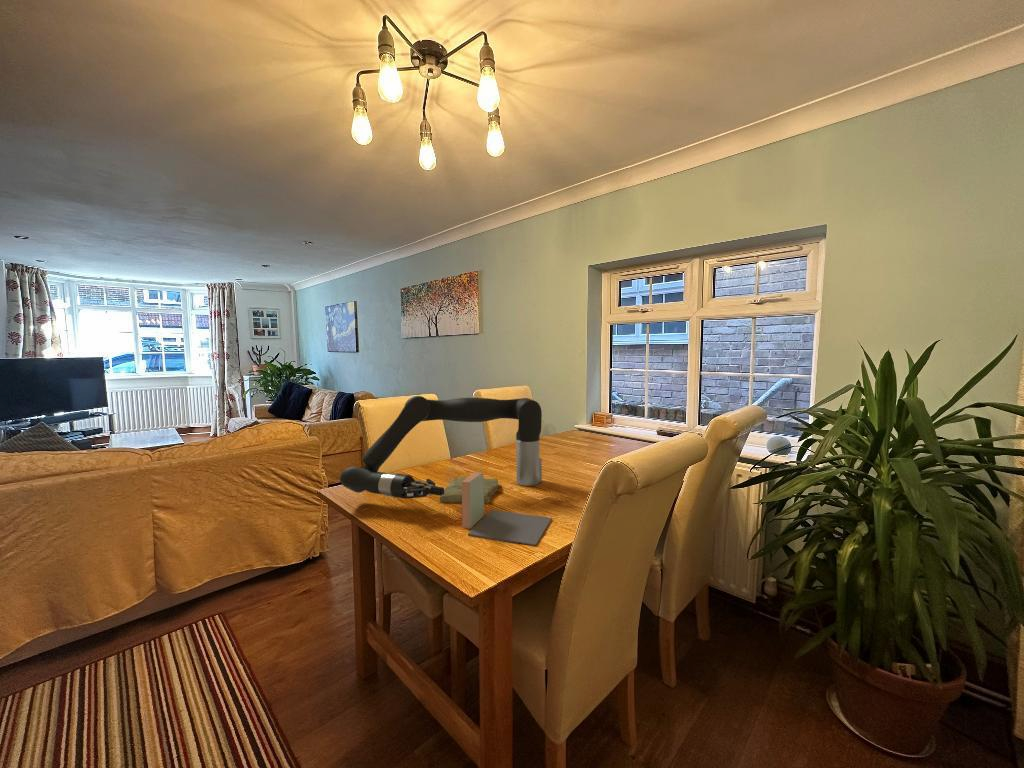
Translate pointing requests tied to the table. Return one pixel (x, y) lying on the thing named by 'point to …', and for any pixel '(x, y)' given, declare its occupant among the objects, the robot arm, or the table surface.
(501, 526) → the charcoal mat
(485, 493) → the olive green flat block
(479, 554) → the table surface
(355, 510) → the table surface
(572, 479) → the table surface
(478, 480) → the glazed tile
